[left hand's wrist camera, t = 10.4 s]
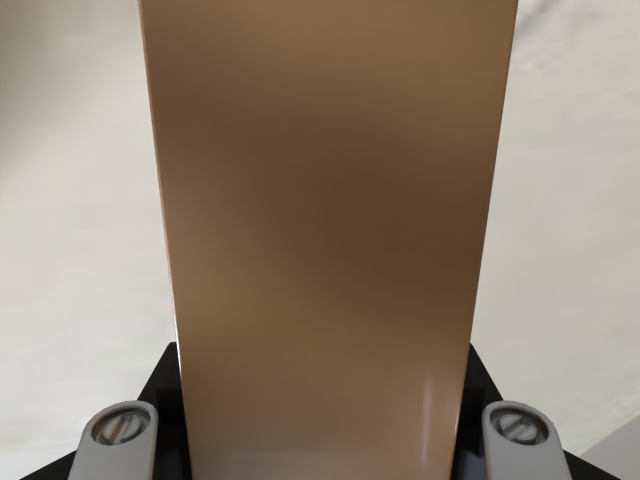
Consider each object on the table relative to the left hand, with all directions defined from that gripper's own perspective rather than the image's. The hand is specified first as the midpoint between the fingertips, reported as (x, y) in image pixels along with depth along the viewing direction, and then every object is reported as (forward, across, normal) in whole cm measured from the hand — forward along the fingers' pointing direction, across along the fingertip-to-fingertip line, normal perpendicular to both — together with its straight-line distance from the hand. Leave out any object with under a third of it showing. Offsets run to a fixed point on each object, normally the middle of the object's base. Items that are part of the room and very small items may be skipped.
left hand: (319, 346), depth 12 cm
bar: (+2, 0, -28) cm, 28 cm away
